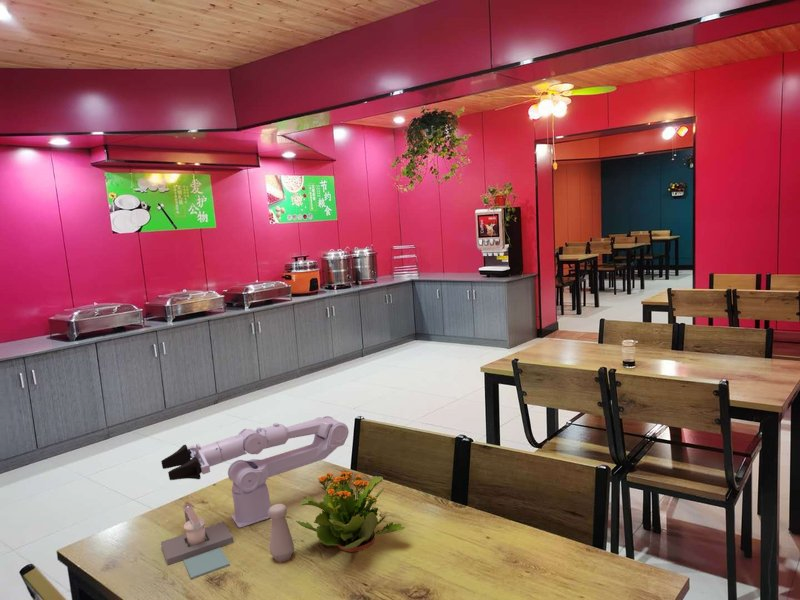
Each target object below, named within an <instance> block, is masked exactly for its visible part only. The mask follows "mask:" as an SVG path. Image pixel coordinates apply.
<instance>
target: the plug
mask: <svg viewBox="0 0 800 600" xmlns="http://www.w3.org/2000/svg"><path fill="white" fill-rule="evenodd" d="M197 518H198V520H199V521H200V524H201V528H198V529H194V527H193V525H192V523H191V521H190V520H189V521H187V522H186V521H185V523H184V524H183V529H184V531H185V532H186V533H185V534H187V540H188V543H187V547H191V546H194V545H197V544H200V543H203V542H206V541H207V538H206V536H205V525H206V519H205V518H202V517H197Z"/></svg>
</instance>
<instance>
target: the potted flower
mask: <svg viewBox="0 0 800 600" xmlns="http://www.w3.org/2000/svg"><path fill="white" fill-rule="evenodd" d="M352 475H353V472H352V471H341V472H340V476H337V475H336V476H335V477H334V474H332V473H330V472H326V475H322V476H321V477H320V476H319V477H317V480H318V482H319V484H320V485H322V486H320V488H321V489H322V490H323V491H325V494H324V495H323V497H322V501H319V502H318V501H316V500H315V499H314V498H313V497H312V496H311V495H307V496H306V497H305V498H304V499H301V500H300V503H299V505H300V506H313V507H315V508H319V509H320V510H321V512H320V513H319V514H318V515H316V516H315V519H314V521H313V523H314V524H317V527H316V528H315V527H313V525H312V524H310V523H309V522H308V521H306V522H304V521H300V520H296V521H295V522H296V523H297V524H298V525H300V526H301V527H303V528H305V529H307V530H309V531H310V530H311V531H313V532H315V533H316V536H317V538H318V540H319V541H320V543H322V544H323V545H326V546H337V548H338V549H340V550H342V551H344V552H349V553H355V552H356V553H357V552H359V551H360V552H361V551H364V550H365V549H368V548H369V547H371V546H373V544H374V542H375V539H376V536H381V535H386V534H390V533H394V532H398V531H403V530H404V529H405V528H406V527H405V526H402V524H401V523H394V522H390V523H388V524H386V525H385V526H383V528H382V529H377V530H376V531H375V529H376V528H377V526H378V525H379V524H380V523H382V522H383V521H384V520H385V518H386V515H383V516H382V517H381V518H378V517H377V516H378V514H379V513H378V510H379V508H378V507H372V506H373V504H374V505H377V502H378V497H379V496H380V495H381V494H382V492H383V491H384V489H385V487H383V488H382V489H381V490H379V491H378V493H377V494H376V495H375V496H374V495H372V494H371V493H372V491H373V489H374V488H375V487H377V485H378V484H381V482H383V481H384V478H383V476H378V475H375V476H374V477H373V478H370V480H369V482H368V480H363V477H362V475H361V474H359V473H358V474H356V475H355V477H354V480H353V476H352ZM328 483H329V484H328ZM349 484H353V486H354V488H355V490H354V489H353V488H351V487H350V485H349ZM354 492H355V493H354Z"/></svg>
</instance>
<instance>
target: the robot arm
mask: <svg viewBox="0 0 800 600" xmlns="http://www.w3.org/2000/svg"><path fill="white" fill-rule="evenodd" d="M310 435H314V436H313V441H312V443H311V444H308V445H305V446H301V447H297V448H295V449H292V450H289V451H284V452H282V453H279V454H275V455H273V456H269V457H266V458H263V459H255V458H252V459H249V460H243V459H238V460H235V461H233V462H232V463H231V464H230V466H229V467H228V469H227V476H228V479H229V480H230V481H232V486H231V493H232V494H231V495H232V501H233V502H232V503H233V509H234V514H231V519H232V520H233V522H234V523H235V525H236V527H238V529H241V528H244V527H247V526H249V525H252V524H255V523H258V522H262V521H264V520H267V519H271V518H270V517H269V508H270V507H271V506H272V505H271V498H270V492H269V489H268V485H267V484H266V482H267V480H268V478H271V477H275V476H278V475H281V474H283V473H287V472H290V471H292V470H295V469H298V468H301V467H305V466H308V465H310V464H315V463H317V462H319V461H323V460H325V459H326V458H328V457H329V456H330V455H331V454H332V453H333V452H334V451H335V450H337V448H340V447H342V446H344V445H345V443H346V440H347V439H348V436H349V428H348V426H347V425H346V423H344V422H341V421H338V420H336V419H335V418H333V417H332V416H329V415H327V416H323V417H322V416H321V417H316V418H314V419H312V420H307V421H304V422H299V423H296V424H293V425H289V426H285V425H284V424H279V423H278V422H274V423H273V424H272V425H270V426H266V427H260V426H259V427H256V429H255V430H254V429H251V428H250V429H249V428H243V429H242V430H241V431H240V432H238V434H237V435H234V436H230V437H226V438H224V439H221V440H217V441H215V442H212V443H209V444H206V445H203V446H201V445H200V444H199V443H195V445H190V446H188V445H187V444H183V445H182V446H181V447H180V448H179V449H178V450H176V451H175V452H173V453H172V454H170V455H169V456H167V457H165V458H163V459H162V460H161V461H160V462H161V467H162V469H163V470H165V469H170V470H169V471H167V473H168V479H169V480H170V481H177V480H185V479H186V480H187V479H188V480H189V479H191V480H201V474H202V475H206V474H208V473H210V472H211V468H210V467H213V466H216V465H219V464H222V463H224V462H227V461H231V460H233V459H236V458H239V457H241V456H244V455H247V454H250V455H260V453H261V452H262V451H264V450H265V449H270V448H273V447H278V446H283V445H285V444H286V443H287V442H288V440H290V439H294V438H301V437H305V436H306V437H307V436H310ZM171 468H173V469H171Z"/></svg>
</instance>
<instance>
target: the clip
mask: <svg viewBox="0 0 800 600" xmlns="http://www.w3.org/2000/svg"><path fill="white" fill-rule="evenodd" d="M182 509H183V512H186V513H187V515H188V517H189V519H190V521H191V523H192V525H193V527H194V529H198V528H201V524H200V521H199V520H198V518H199V517H198V515H197V514H196V512H195V511H194V506H193V503H186V504H184V505H183V506H182Z"/></svg>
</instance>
